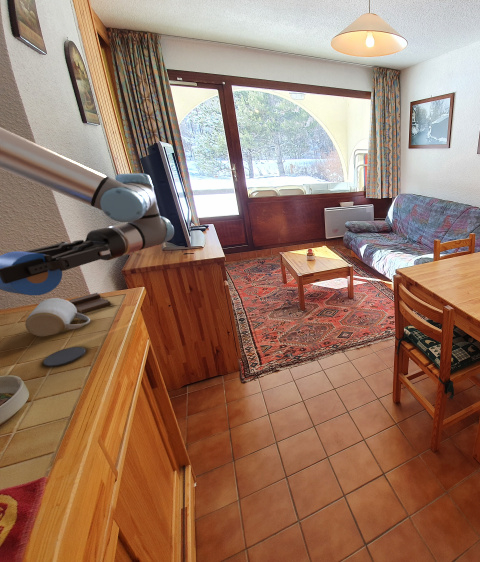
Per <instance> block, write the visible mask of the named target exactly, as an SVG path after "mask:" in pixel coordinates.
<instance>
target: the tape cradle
mask: <svg viewBox="0 0 480 562" xmlns="http://www.w3.org/2000/svg"><path fill="white" fill-rule="evenodd" d="M68 301H69V302H71V303H72V304H73V305H74V306H75V307H76V309H77V311H79V313H80V314H86V313H89V312H93V311H95V310H98V309H102V308H105V307H109V306H111V305H112V303H111V301H110V300H108V299H103V298H102V297H101V294H100V293H98V292H94V293H90V294H86V295H83V296H79V297H76V298H73V299H68Z"/></svg>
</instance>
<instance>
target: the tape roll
mask: <svg viewBox="0 0 480 562" xmlns="http://www.w3.org/2000/svg"><path fill="white" fill-rule="evenodd" d="M43 255H45V254H39V253H30V252H24V251H21V250H19V251H10V252H9V251H8V252H6V253H4V254H1V255H0V268H4V267H8V266H12V265H16V264H19V263H23V262H27V261H31V260H35V259H39V258H41V259H43V261H44V262H45V258H44V256H43ZM62 278H63V271H61V270H60V269H58V270H55V271H50V270H48V271H47V272H44V273H41V274H37V275H34V276H30V277H27V278H24V279H20V280H17V281H13V282H10V283H7V284H5V283H3V282H2V280H1V278H0V290H1V291H3V292H7V293H13V294H18V295H24V296H33V297H35V296H42V295H45V294H48V293H50V292H52V291H54V290H55V289H56V288H57V287H58V286H59V284H60V283H61V282H62Z"/></svg>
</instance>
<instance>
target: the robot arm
mask: <svg viewBox="0 0 480 562" xmlns="http://www.w3.org/2000/svg"><path fill="white" fill-rule="evenodd" d="M0 170H1V171H3V172H6V173H9V174H11V175H13V176H16V177H18V178H21V179H24V180H26V181H29V182H31V183H33V184H36V185H39V186H41V187H43V188H45V189H49V190H50V191H53V192H55V193H58V194H61V195H63V196H66V197H67V198H70V199H73V200H75V201H78V202H81V203H83V204H85V205H88V206H91V207H94V208H96V209H98V210H100V211H102V212H103V213H104V215H106V216H107V217H108V218H109V219H110V220H112V221H115V222H117V223H118V222H119V224H114V225H110V226H107V227H103V228H98V229H93V230H91V231H89V232H88V233H87V234H86V237H85V240H84V239H78V240H74V241H71V242H67V241H61V242H58V243H54V244H50V245H46V246H42V247H38V248H33V249H28V250H24V251H23V252H30V253H39V254H45V255H43V256H44V258H45V262H44V261H43V259H41V258H39V259H35V260H31V261H27V262H23V263H19V264H16V265H12V266H8V267H4V268H0V278H1V280H2V282H3V283H5V284H7V283H10V282H13V281H17V280H20V279H24V278H27V277H30V276H34V275H37V274H41V273H44V272H47V271H48V270H50V271H55V270H58V269H60V270H61V271H62V272H64V271H67V270H71V269H74V268H77V267H80V266H83V265H86V264H90V263H94V262H96V261H99V260H102V261H111V260H113V259H114V260H115V259H118V258H120V257H122V256H126V255H128V256H132V254H133V253H135V252H139V251H142V250H146V249H148V248H152V247H156V246H161V245H162V244H165V243H167V242H169V241H170V240H172V239H173V237H174V235H175V228H174V226H173V224H172V223H171V221H170V220H169V219H168V218H166V217H165V216H161V213H160V210H159V205H158V201H157V197H156V193H155V190H154V189H155V188H154V187H155V186H154V185H153V182H152V179H151V176H150V175H149V174H147V173H137V172H135V173H134V172H133V173H132V172H131V173H119V174H116V175H115V176H114V177H115V179H114V178H111V177H110V176H108V175H105V174H104V173H101V172H100V171H97V170H96V169H95V170H94V169H93V168H90V167H88V166H86V165H84V164H82V163H80V162H77V161H75V160H73V159H70V158H69V157H66V156H65V155H62V154H60V153H58V152H55V151H54V150H51V149H49V148H47V147H44V146H42V145H40V144H38V143H36V142H33V141H31V140H29V139H27V138H25V137H22V136H21V135H18V134H16V133H13V132H11V131H10V130H7V129H5V128H3V127H1V126H0Z"/></svg>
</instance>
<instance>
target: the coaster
mask: <svg viewBox="0 0 480 562" xmlns="http://www.w3.org/2000/svg"><path fill="white" fill-rule="evenodd" d="M85 354H86V348H84V347H82V346H73V347H67V348H63V349H60V350H58V351H56V352H54V353H51V354H49V355H48V356H46V357H45V358H44V360H43V365H44V366H45V367H48V368H56V367H62V366H65V365H68V364H71V363H73V362H75V361H78V360H79V359H81V358H82V357H83V356H84V355H85Z"/></svg>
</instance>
